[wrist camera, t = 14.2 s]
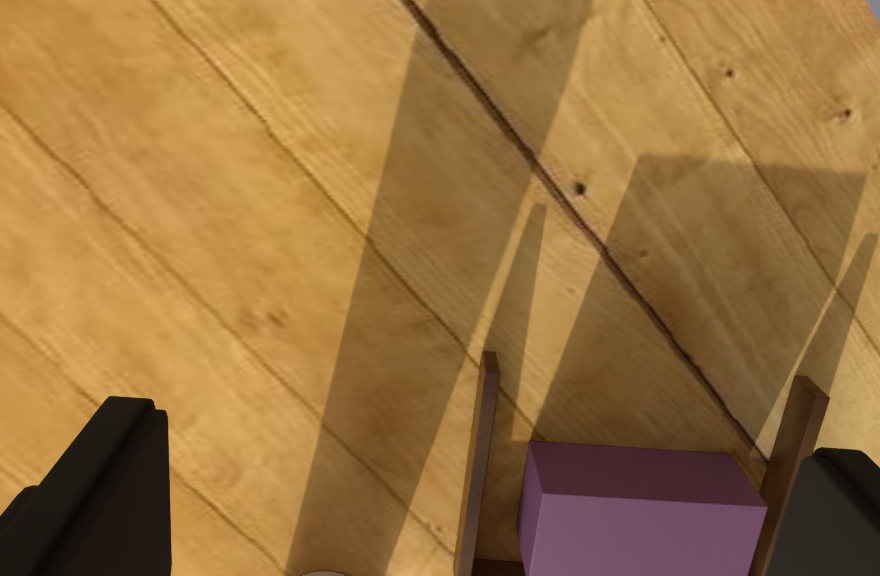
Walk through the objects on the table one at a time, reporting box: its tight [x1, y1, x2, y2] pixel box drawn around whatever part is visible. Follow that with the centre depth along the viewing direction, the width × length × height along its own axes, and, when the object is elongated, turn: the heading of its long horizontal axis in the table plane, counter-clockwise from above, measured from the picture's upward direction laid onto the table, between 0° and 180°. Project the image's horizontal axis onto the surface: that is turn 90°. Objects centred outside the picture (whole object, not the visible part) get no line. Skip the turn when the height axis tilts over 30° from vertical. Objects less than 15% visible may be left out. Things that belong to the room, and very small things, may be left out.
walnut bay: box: [453, 352, 830, 576], centre depth 43 cm, size 15×19×2 cm
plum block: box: [516, 441, 768, 576], centre depth 43 cm, size 6×12×5 cm, turn 85°
